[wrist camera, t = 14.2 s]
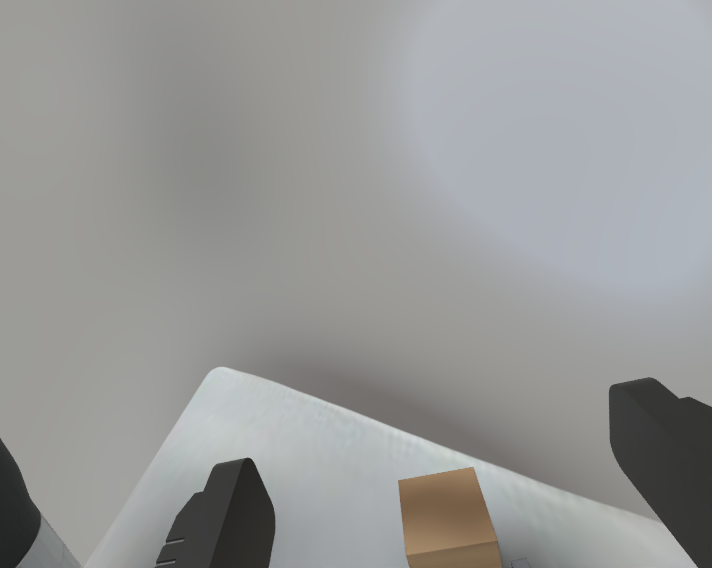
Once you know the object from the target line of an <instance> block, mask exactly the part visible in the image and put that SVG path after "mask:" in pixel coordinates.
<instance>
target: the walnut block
mask: <svg viewBox="0 0 712 568" xmlns="http://www.w3.org/2000/svg"><path fill="white" fill-rule="evenodd" d="M398 484H399V493H400V503H401V512H402V522H403V531H404V540H405V550H406V557H407V560H408V563H409V566H410V568H502V563H501V558H500V552H499V547H498V541H497V538H496V535H495V532H494V529H493V526H492V523H491V519H490V516H489V513H488V510H487V507H486V504H485V501H484V498H483V495H482V492H481V489H480V486H479V483H478V480H477V476H476V473H475V470H474V467H470V468H465V469H459V470H454V471H448V472H442V473H437V474H431V475H426V476H420V477H415V478H409V479H404V480H398Z"/></svg>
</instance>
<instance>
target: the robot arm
mask: <svg viewBox="0 0 712 568" xmlns="http://www.w3.org/2000/svg"><path fill="white" fill-rule="evenodd" d="M609 417H610V418H609V419H610V443H611V447H612V451H613V453H614V456H615V458H616V460H617V462H618V464H619V466H620V467H621V469H622V470H623V472H624V473H625V474H626V476H627V477H628V478H629V479H630V481H631V482H632V483H633V485H634V486H635V487H636V489H637V490H638V491H639V492H640V494H641V495H642V496H643V498H644V499H645V500H646V501H647V503H648V504H649V505H650V507H651V508H652V509H653V510H654V512H655V513H656V514H657V515H658V517H659V518H660V519H661V520H662V522H663V523H664V524H665V526H666V527H667V528H668V530H669V531H670V532H671V533H672V535H673V536H674V537H675V539H676V540H677V541H678V542H679V544H680V545H681V546H682V548H683V549H684V550H685V551H686V553H687V554H688V555H689V557H690V558H691V559H692V560H693V562H694V563H695V564H696V566H697V567H698V568H712V407H711V406H708V405H706V404H704V403H702V402H699V401H697V400H695V399H693V398H691V397H686V398H681V399H679V398H678V397H677V396H675V395H674V394H673V393H672V392H671V391H669V390H668V389H667V388H666V387H665V386H663V385H662V384H661V383H660V382H659V381H657V380H656V379H654V378H643V379H638V380H634V381H629V382H624V383H619V384H614V385H612V386H611V387H610V390H609ZM274 535H275V513H274V508H273V505H272V502H271V500H270V497H269V495H268V493H267V491H266V488H265V486H264V484H263V482H262V479H261V477H260V475H259V473H258V470H257V468H256V466H255V464H254V462H253V460H252V459H251V458H244V459H239V460H234V461H229V462H224V463H219V464H216V465H215V466H214V467H213V469H212V471H211V474H210V476H209V479H208V481H207V484H206V486H205V489H204V491H203V492H199V493H195V494H194V495H193V496H192V497H191V499H190V500H189V501H188V502H187V504H186V505H185V506H184V507H183V509H182V510H181V511H180V512H179V514H178V515H177V516H176V519H175V521H174V523H173V525H172V528H171V530H170V532H169V534H168V537H167V539H166V545H165V546H163V548H162V550H161V552H160V555H159V557H158V559H157V561H156V563H157V565H156V567H155V568H268V567H269V562H270V557H271V551H272V546H273V541H274ZM0 568H83V567H82V566H81V565H80V563H79V562H78V561H77V560H76V558H75V557H74V556H73V554H72V553H71V552H70V550H69V549H68V548H67V546H66V545H65V544H64V542H63V541H62V540H61V539H60V538H59V536H58V535H57V534H56V532H55V531H54V530H53V528H52V527H51V526H50V524H49V523H48V522H47V520H46V519H45V518H44V516H43V515H42V514H41V512H40V511H39V510H38V508H37V507H36V506H35V504H34V503H33V502H32V500H31V499H30V496H29V494H28V491H27V489H26V486H25V483H24V480H23V477H22V474H21V472H20V469H19V467H18V465H17V464H16V462H15V460H14V459H13V457H12V455H11V454H10V452H9V451H8V449H7V448H6V446H5V445H4V443H3V442H2V441H1V439H0Z"/></svg>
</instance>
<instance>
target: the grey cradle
mask: <svg viewBox="0 0 712 568" xmlns="http://www.w3.org/2000/svg"><path fill="white" fill-rule="evenodd" d="M511 565H512V568H531V567H530V565H529V562H528V560H527V558H524V559H519V560H513V561H511Z"/></svg>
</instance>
